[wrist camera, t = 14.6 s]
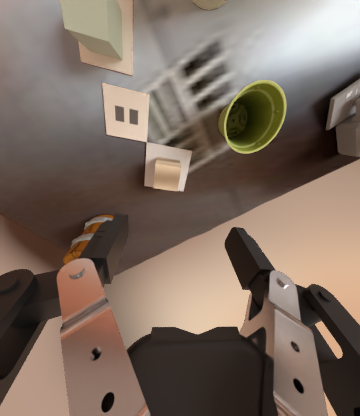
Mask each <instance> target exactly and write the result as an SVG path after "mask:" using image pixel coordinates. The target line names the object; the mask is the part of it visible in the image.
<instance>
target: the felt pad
mask: <svg viewBox="0 0 360 416" xmlns="http://www.w3.org/2000/svg"><path fill="white" fill-rule="evenodd" d="M191 155H192V151H190V150H185V149H180V148H175V147H170V146H164V145H159V144H154V143H149V142H147V146H146V165H145V184H144V186H149V187H154V175H155V163H156V160H157V157H162V158H168V159H174V160H180V164H181V174H180V179H179V185H178V190H177V191H184V186H185V182H186V177H187V173H188V168H189V164H190V159H191Z"/></svg>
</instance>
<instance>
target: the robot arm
mask: <svg viewBox="0 0 360 416" xmlns="http://www.w3.org/2000/svg"><path fill="white" fill-rule="evenodd" d="M127 237H128V215H124V214H115V216H114V218H113V219H112V221H111V220H106V221H105V222H103V223H102V224H100V226H99V227H98V229H97V230H96V232H95V233H94V235H93V237H92V238H91V239H90V241H89V242H88V244H87V245H86V247H85V248H84V249H83V251H82V252H81V254H80V255H79V257H78V258H77V259H76V260H73V261H71V262H69V263H67V264H66V265H65V266H64V267H63V268H62V269H60V270H57V271H52V272H47V273H42V274H37V275H34V274H33V273H32V272H31V271H29V270H27V269H19V270H14V271H11V272H8V273H5V274H3V275H1V276H0V405H1V403H2V401H3V400H4V398H5V396H6V394H7V392H8V390H9V388H10V387H11V385H12V383H13V381H14V380H15V378H16V376H17V374H18V373H19V371H20V369H21V367H22V365H23V363H24V362H25V360H26V358H27V356H28V355H29V353H30V351H31V349H32V348H33V346H34V344H35V342H36V340H37V339H38V337H39V335H40V333H41V331H42V330H43V328H44V326H45V324H46V322H47V321H48V320H49V319H52V318H55V317H58V316H61V315H62V321H63V325H62V327H61V330H60V336H61V345H62V346H61V347H62V355H63V363H64V371H65V379H66V388H67V396H68V404H69V412H70V416H328V413H327V409H326V402H325V397H324V392H325V394H326V396H327V398H328V400H329V402H330V404H331V406H332V407H333V409H334V411H335V413H336V415H337V416H360V325H359V324H358V323H357V322H356V321H355V319H353V317H352V316H351V315H350V314H349V313H348V311H347V310H346V309H345V308H344V307H343V306H342V305H341V304H340V302H339V301H338V300H337V299H336V298H335V297H334V296H333V295H332V294H331V293H330V292H328V291H327V290H326V289H325V288H323V287H321V286H319V285H316V284H311V285H310V286H309V287H307V288H304V287H302V286H299V285H296V284H294V283H293V281H292V280H291V279H290V278H289V277H288V276H287V275H285V274H284V273H282V272H280V271H276V270H275V269H274V267H273V266H272V264H271V263H270V262H269V260H268V259H267V257H266V256H265V254H264V253H263V252H262V250H261V249H260V248H259V246H258V244H257V243H256V242H255V240H254V239H253V238H251V237H250V236H249V235H248V234H247V232H246V231H245V230H244V229H243V228H237V227H233V228H232V229H231V231H230V233H229V234H228V236H227V238H226V240H225V248H226V251H227V253H228V256H229V258H230V260H231V263H232V265H233V267H234V270H235V272H236V275H237V277H238V279H239V282H240V284H241V286H242V289H243V290H250V291H251V294H250V295H249V300H248V305H247V310H246V315H245V320H244V324H243V326H242V328H241V330H240V332H239V331H238V328H237V327H216V328H214V329H212V330H209V331H207V332H204V333H202V334H199V335H197V334H193V333H190V332H187V331H184V330H181V329H179V328H176V327H153V328H152V331H151V334H148V335H145V336H144V337H142V338H140V339H139V340H137V341H136V342H134V343H133V344H132V345H131V346H130V347H129V348H128V349H127V350H126V348H125V345H124V342H123V339H122V337H121V334H120V331H119V329H118V326H117V323H116V320H115V318H114V315H113V312H112V310H111V307H110V305H109V302H108V300H107V298H106V296H105V293H104V290H103V287H104V284H111V281H112V279H113V276H114V273H115V271H116V268H117V265H118V262H119V260H120V257H121V254H122V252H123V249H124V246H125V243H126V241H127ZM320 321H323V323H324V324H325V326H326V327H327V329H328V330H329V331H330V333H331V334H332V336H333V337H334V338H335V340H336V341H337V343H338V344H339V345H340V347H341V349H342V352H343V356H342V358H340V359H337V357H336V356H335V355H334V353H333V352H332V350H331V348H330V347H329V345H328V344H327V343H326V341H325V340H324V338H323V336H322V335H321V333H320V332H319V330H318V329H317V327H316V326H315V324H316V323H318V322H320ZM323 390H324V391H323Z"/></svg>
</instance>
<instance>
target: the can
mask: <svg viewBox="0 0 360 416" xmlns="http://www.w3.org/2000/svg"><path fill="white" fill-rule="evenodd" d="M192 1H193V2H194V3H195V4H196V5H197V6H199V7H200V8H202V9H206V10H213V9H216V8H219V7H220V6H222V5H223V4H225V3H226V2H227V1H228V0H192Z"/></svg>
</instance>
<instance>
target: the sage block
mask: <svg viewBox="0 0 360 416" xmlns="http://www.w3.org/2000/svg"><path fill="white" fill-rule="evenodd" d="M60 4H61V10H62V16H63V22H64V28H65V29H66V30H67V31H68V32H69V33H70V34H71V35H72V36H74V37H75V38H76V39H77V40H78V41H79V42H80V43H81V44H82V45H84V46H85V47H86V48H87V49H88V50H89V51H92V52H95V53H99V54H102V55H106V56H109V57H113V58H117V59H120V60H123V50H122V11H121V9H120V7H119V4H118V2H117V0H60Z"/></svg>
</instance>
